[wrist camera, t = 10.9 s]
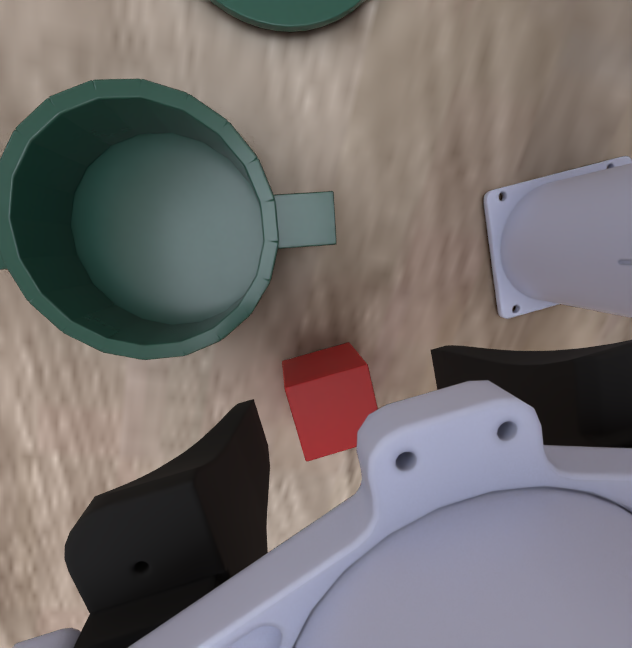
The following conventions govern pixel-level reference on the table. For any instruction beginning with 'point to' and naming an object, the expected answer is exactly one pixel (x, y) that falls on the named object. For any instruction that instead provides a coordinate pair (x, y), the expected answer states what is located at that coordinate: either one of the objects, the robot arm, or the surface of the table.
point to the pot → (144, 218)
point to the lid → (288, 12)
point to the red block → (328, 398)
